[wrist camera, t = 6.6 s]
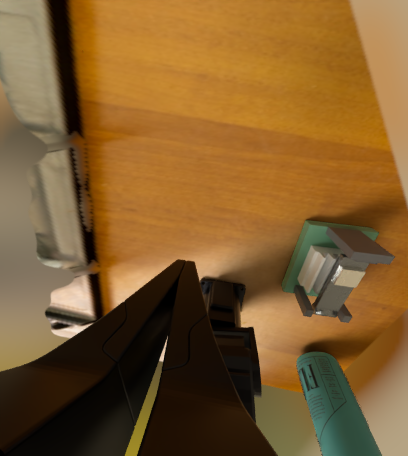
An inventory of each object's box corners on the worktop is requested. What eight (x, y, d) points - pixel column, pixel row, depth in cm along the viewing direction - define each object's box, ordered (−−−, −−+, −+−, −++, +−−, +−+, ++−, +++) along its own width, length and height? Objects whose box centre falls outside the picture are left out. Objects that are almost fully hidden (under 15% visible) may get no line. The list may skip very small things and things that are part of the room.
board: (334, 292, 25) (361, 334, 20) (281, 285, 25) (294, 323, 20) (371, 227, 20) (419, 260, 15) (305, 219, 21) (330, 248, 15)
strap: (330, 310, 22) (336, 320, 20) (309, 307, 22) (313, 317, 21) (364, 254, 18) (374, 263, 16) (339, 251, 18) (346, 259, 17)
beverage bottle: (301, 337, 30) (404, 634, 12) (342, 346, 30) (508, 662, 12) (286, 358, 33) (351, 619, 15) (323, 366, 33) (432, 641, 15)
